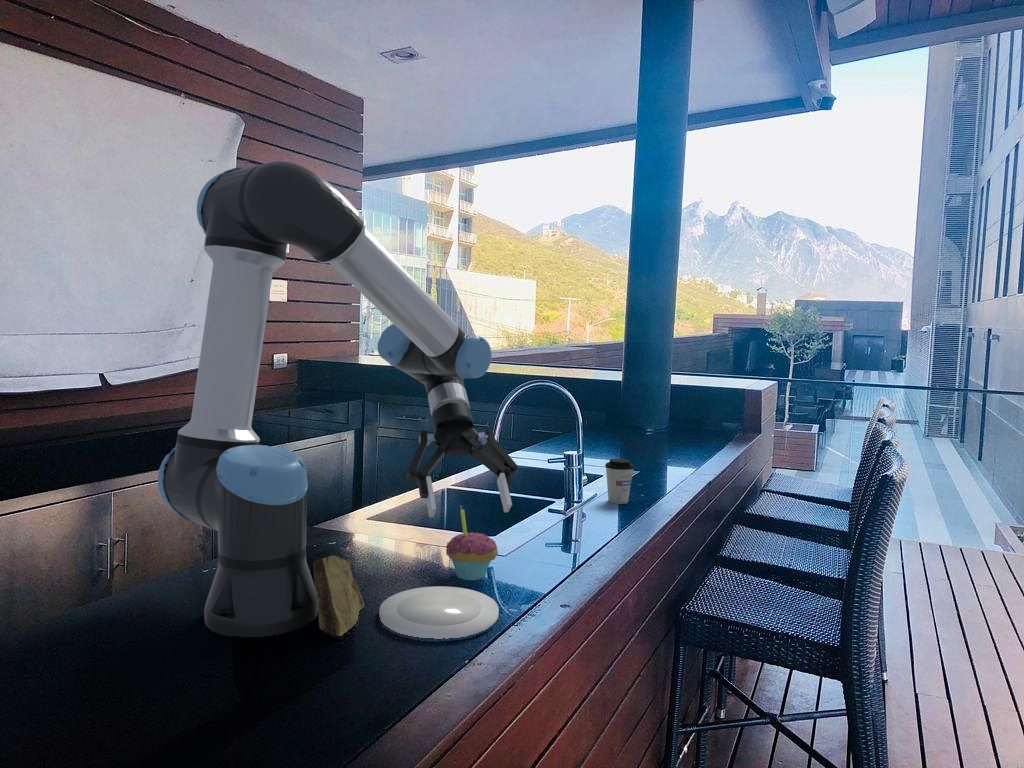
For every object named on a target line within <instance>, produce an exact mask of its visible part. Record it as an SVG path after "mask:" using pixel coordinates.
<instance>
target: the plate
mask: <svg viewBox="0 0 1024 768" xmlns="http://www.w3.org/2000/svg"><path fill="white" fill-rule="evenodd" d="M499 613H500V612H499V605H498V604H497V602H496V601H495V599H493V598H492V597H490V596H488V595H486V594H485V593H482V592H479V591H476V590H473V589H469V588H464V587H457V586H445V585H444V586H443V585H442V586H440V585H439V586H437V585H436V586H433V585H432V586H424V587H415V588H410V589H407V590H404V591H400V592H397V593H394V594H393V595H391V596H389V597H388V598H386V599H385V600H384V601H383V602H382V603H381V604H380V606H379V613H378V614H379V616H378V618H379V617H380V620H381V622H382V623H383V624H384V625H385V626H387V627H388V628H390V629H391V630H393V631H395V632H397V633H400V634H404V635H408V636H413V637H419V638H434V639H443V638H445V639H449V638H460V637H466V636H469V635H473V634H476V633H479V632H481V631H484V630H486V629H488V628H489V627H490V626H492V625H493V624H494V623H495V622H496V621H497V619H498V620H499ZM380 620H379V621H380Z"/></svg>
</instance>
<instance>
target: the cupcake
mask: <svg viewBox="0 0 1024 768" xmlns="http://www.w3.org/2000/svg"><path fill="white" fill-rule="evenodd" d="M459 506H460V510H459V511H460V519H461V527H462V533H459V534H457V535H456V536H453V537H452V538H451V539H450V541H448V542H447V545H446V546H445V553H446V556H448V558H449V559H451V561H452V564H453V567H454V571H455V575H456V577H457V578H458V579H460V580H463V581H478V580H482V579H483V578H485V577H486V574H487V570H488V568H489V565H490V563H491V562H492V561H493V560H495V559H496V557H497V556H498V555H499V554H498V553H499V551H498V545H497V544H496V541H495V540H494V539H493V538H491V537H490V536H488V535H487V534H485V533H481V532H468V530H467V529H468V528H467V523H466V521H467V520H466V513H465V509H463V506H462V505H459Z"/></svg>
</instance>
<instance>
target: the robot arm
mask: <svg viewBox="0 0 1024 768" xmlns="http://www.w3.org/2000/svg"><path fill="white" fill-rule="evenodd" d="M196 216H197V220H198V224H199V226H201V229H202V230H203V233H204V234H205V238H204V247H203V250H204V252H205V253H206V254H207V256H208V257H209V258H210V259H211V262H212V271H211V277H210V284H209V290H208V298H207V305H206V312H205V317H204V318H205V320H204V325H203V326H204V327H203V333H202V340H201V348H200V354H199V361H198V368H197V369H198V370H197V374H196V376H197V377H196V382H195V388H194V389H195V390H194V396H193V397H194V398H193V405H192V411H191V416H190V417H191V418H190V420H189V422H187V424H185V425H184V426H182V427H181V428H180V429H178V430H177V437H176V443H175V447H174V448H172V450H171V451H170V452H169V453H168V454H166V455H165V457H164V458H163V460H162V462H161V464H160V466H159V469H158V472H157V487H158V491H159V496H160V497H161V499H162V501H163V502H164V503H165V505H166V506H167V507H168V508H169V509H170V510H172V511H173V512H174V513H175V514H177V515H178V516H179V517H180V518H182V519H184V520H186V521H188V522H192V523H194V524H198V525H201V526H204V527H206V528H208V529H210V530H213V531H215V532H217V569H216V572H215V575H214V577H213V580H212V583H211V587H210V590H209V592H208V595H207V598H206V602H205V604H204V610H203V611H204V616H203V617H204V622H205V623H204V625H205V624H206V626H207V627H208V628H209V629H210V630H212V631H214V632H217V633H220V634H223V635H229V636H239V637H240V636H241V637H264V636H273V635H279V634H283V633H286V632H289V631H292V630H295V629H297V628H300V627H302V626H304V625H306V624H308V623H309V622H311V621H312V620H313V621H315V619H316V618H317V617H318V615H317V614H319V612H318V598H317V592H316V587H315V582H314V580H313V577H312V574H311V571H310V568H309V565H308V563H307V512H308V511H307V503H308V502H307V500H308V498H307V497H308V496H307V494H308V489H309V482H308V475H307V466H306V462H305V460H304V459H303V458H302V456H300V455H299V454H298V453H297V452H295V451H292V450H290V449H287V448H283V447H279V446H274V447H273V446H269V445H263V444H260V441H261V438H260V437H259V435H258V434H257V433H256V432H255V431H254V430H253V428H252V427H253V426H252V422H253V418H254V415H253V414H254V409H255V402H256V394H257V387H258V381H259V380H258V379H259V372H260V366H261V360H262V359H261V358H262V351H263V346H264V345H263V344H264V337H265V330H266V322H267V316H268V308H269V301H270V295H271V289H272V287H271V286H272V281H273V280H272V279H273V274H274V273H275V272H276V271H277V270H279V269H280V268H281V267H283V266H284V265H285V264H286V263H285V262H286V255H287V249H288V245H290V246H295V247H297V248H299V249H301V250H303V251H304V252H306V253H308V254H309V255H310V256H311V257H312V259H314V260H316V262H317V263H320V264H330V265H331V266H332V267H333V268H334V269H335V270H336V271H337V272H338V273H339V274H340V275H341V276H342V277H343V278H345V279H346V280H347V281H348V283H350V284H351V285H352V287H354V288H355V289H356V290H357V291H359V293H360V294H362V295H363V297H365V298H366V299H367V300H368V301H369V303H371V304H372V305H373V306H374V307H375V308H376V309H377V310H379V312H380V313H381V314H383V315H384V317H386V318H387V319H388V320H389V321H390V322H391V323H392V324H390V325H389V326H387V327H386V328H385V329H384V330H383V331H382V333H381V334H380V337H379V339H378V341H377V347H376V349H377V352H378V355H379V356H380V358H381V359H383V360H384V361H385V362H387V363H388V364H389V365H390V366H391V367H395V368H396V369H398V370H399V371H401V372H403V373H405V374H406V375H408V376H410V377H412V378H414V379H415V380H417V381H418V382H419V383H421V384H423V385H424V387H425V390H426V391H425V392H426V394H427V395H426V396H427V400H428V407H429V411H430V415H431V422H432V423H431V424H432V427H433V433H428V431H426V430H425V429H424V430H423V429H422V430H421V431H420V434H419V436H418V442H417V443H418V446H417V448H416V451H415V454H414V456H413V458H412V461H411V463H410V465H409V468H408V471H407V473H406V481H408V482H412V481H413V482H415V484H416V486H418V493H419V497H420V498H421V499H425V500H426V507H427V512H428V518H434V517H435V515H436V512H437V506H436V499H435V494H434V488H433V487H434V486H433V482H432V477H431V475H430V474H431V473H432V472H433V471H434V469H435V468H436V467H437V465H438V464H439V463H440V461H442V460H443V458H444V457H445V456H446V455H448V456H449V457H450V458H451V457H457V456H459V457H466V456H467V455H469V457H470V458H472V459H474V460H475V459H476V460H477V461H478V462H479V463H481V465H483V466H484V467H485V468H486V469H488V470H489V471H490V472H491V473H493V474H494V475H496V477H497V479H496V484H497V488H498V492H499V493H498V494H499V496H500V500H501V504H502V509H503V513H509V512H510V510H511V507H512V506H513V503H512V497H511V493H512V491H513V483H512V480H511V477H514V476H515V475H516V473H517V470H518V468H519V466H518V464H517V463H516V461H514V460H513V458H512V457H511V456H510V455H509V454H508V453H507V451H506V450H505V449H504V448H503V446H502V445H501V444H500V443H499V441H498V440H497V439H496V438H495V436H494V433H493V431H492V429H490V428H486V430H485V431H482V432H477V430H476V429H475V425H474V420H473V416H472V412H471V407H470V402H469V399H468V394H467V390H466V387H465V382H464V380H465V379H477V378H478V379H479V378H481V377H483V376H484V375H485V374H486V372H487V371H488V370H489V368H490V366H491V364H492V356H493V355H492V353H493V352H492V348H491V345H490V344H489V342H488V340H486V338H485V337H483V336H481V335H476V334H471V333H470V334H467V333H466V332H465V331H464V330H463V329H462V328H461V327H460V326H459V325H458V324H457V323H456V322H455V321H454V320H453V319H452V318H451V317H450V315H448V314H447V313H446V311H444V310H443V308H441V306H440V305H439V304H438V303H437V302H436V301H435V300H434V299H433V298H432V297H431V296H430V295H429V294H428V293H427V292H426V290H425V289H423V287H422V286H421V285H420V283H418V282H417V281H416V280H415V278H413V277H412V276H411V274H409V272H408V271H406V270H405V268H404V267H403V266H402V265H401V264H400V263H399V262H398V260H396V259H395V258H394V256H392V254H391V253H390V252H389V251H388V250H387V249H386V248H385V247H384V246H383V244H381V243H380V242H379V241H378V239H376V238H375V237H374V236H373V234H372V233H371V232H370V231H369V230H368V229H367V228H366V217H365V216H364V215H363V214H362V212H360V210H358V209H357V208H356V206H355V205H354V204H353V203H352V202H351V201H350V200H349V199H348V198H347V197H346V196H345V195H343V194H342V193H341V192H340V191H339V190H338V189H337V188H336V187H334V185H333V184H331V183H330V182H328V181H327V180H326V179H324V178H323V177H321V176H320V175H319V174H317V173H316V172H314V171H312V170H310V169H309V168H307V167H305V166H303V165H300V164H298V163H294V162H290V161H285V160H275V161H274V160H273V161H268V162H265V163H262V164H261V163H260V164H256V165H252V166H246V167H242V166H240V167H233V168H231V169H227V170H224V171H222V172H220V173H218V174H216V175H215V176H213V177H212V178H210V179H209V180H208V181H207V182H206V183H205V184H204V186H203V187H202V189H201V190H200V192H199V194H198V197H197V202H196ZM479 441H480V442H479ZM432 442H433V443H434V444H435V445H436V446H437V450H436V451H434V453H433V454H432V455H431V457H430V458H429V459H428V460H427V462H426V463H425V464H424V465H423V467H422V468H421V470H420V471H417V470H418V468H419V465H420V463H421V461H422V458H423V455H424V453H425V450H426V448H427V447H428V446H430V445H431V443H432ZM483 445H484V446H485V448H486V449H485V448H484V447H483ZM488 451H489V452H488ZM316 616H317V617H316ZM314 618H315V619H314ZM313 621H312V622H313ZM312 622H311V623H312ZM308 625H309V624H308ZM206 626H205V627H206ZM283 635H284V634H283ZM279 636H280V635H279Z"/></svg>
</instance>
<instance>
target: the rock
mask: <svg viewBox="0 0 1024 768" xmlns="http://www.w3.org/2000/svg"><path fill="white" fill-rule="evenodd" d="M312 563H313V564H312V565H313V566H312V567H313V579H314V580H313V582H314V586H315V589H316V592H317V598H318V615H317V616H318V627H319V630H320V629H321V630H324V631H325V632H327V633H330V634H332V635H337V636H342V635H343V634H344V633H346V632H347V631H348V630H349V629H351V628H352V627H353V626H354V625H355V624H356V622H357V620H358V619H359V618H358V615H359V611H360V610H361V609H362V610H363V609H364V607H365V603H364V600H363V596H362V594H361V592H360V588H359V584H358V582H357V580H356V578H354V575H353V572H352V569H351V561H350V560H347V559H344V558H342V557H339V556H338V555H337V556H336V555H329V556H327V557H321V558H319V559H316V560H314V561H313V562H312ZM362 610H361V611H362ZM361 611H360V612H361Z"/></svg>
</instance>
